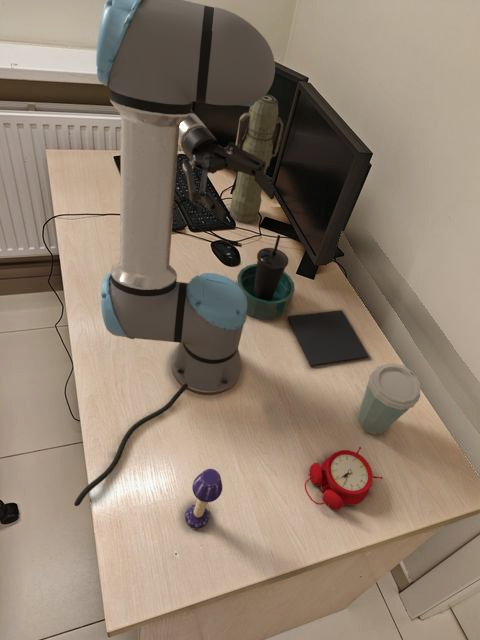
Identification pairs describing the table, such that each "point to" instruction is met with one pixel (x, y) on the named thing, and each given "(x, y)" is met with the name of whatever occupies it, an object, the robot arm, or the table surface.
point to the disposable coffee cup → (387, 397)
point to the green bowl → (263, 307)
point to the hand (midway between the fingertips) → (249, 206)
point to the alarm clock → (342, 479)
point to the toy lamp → (203, 497)
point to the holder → (326, 338)
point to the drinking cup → (269, 271)
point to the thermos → (260, 146)
